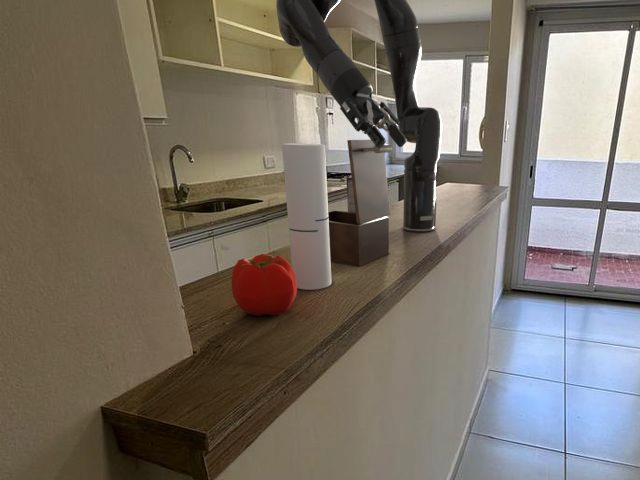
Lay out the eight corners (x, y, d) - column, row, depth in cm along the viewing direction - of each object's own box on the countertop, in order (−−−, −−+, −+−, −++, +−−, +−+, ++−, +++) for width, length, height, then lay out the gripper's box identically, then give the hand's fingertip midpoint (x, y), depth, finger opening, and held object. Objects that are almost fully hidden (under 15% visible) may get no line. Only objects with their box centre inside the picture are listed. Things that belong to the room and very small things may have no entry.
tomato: (258, 295, 79) (252, 247, 75) (313, 304, 76) (309, 254, 72) (215, 317, 69) (207, 264, 66) (276, 328, 66) (270, 273, 63)
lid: (347, 140, 88) (368, 138, 86) (380, 139, 98) (400, 137, 96) (356, 223, 93) (377, 224, 91) (387, 215, 104) (406, 214, 102)
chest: (302, 255, 103) (300, 217, 100) (335, 244, 114) (334, 209, 110) (359, 266, 97) (358, 226, 93) (388, 253, 107) (388, 216, 104)
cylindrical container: (339, 283, 86) (333, 145, 76) (307, 292, 81) (297, 145, 71) (317, 275, 90) (309, 143, 81) (286, 282, 85) (273, 143, 76)
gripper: (333, 62, 83) (387, 130, 83) (374, 70, 94) (421, 131, 94) (312, 93, 87) (363, 159, 87) (354, 98, 99) (399, 156, 99)
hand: (393, 144), depth 91 cm, fingers open, 8 cm apart
